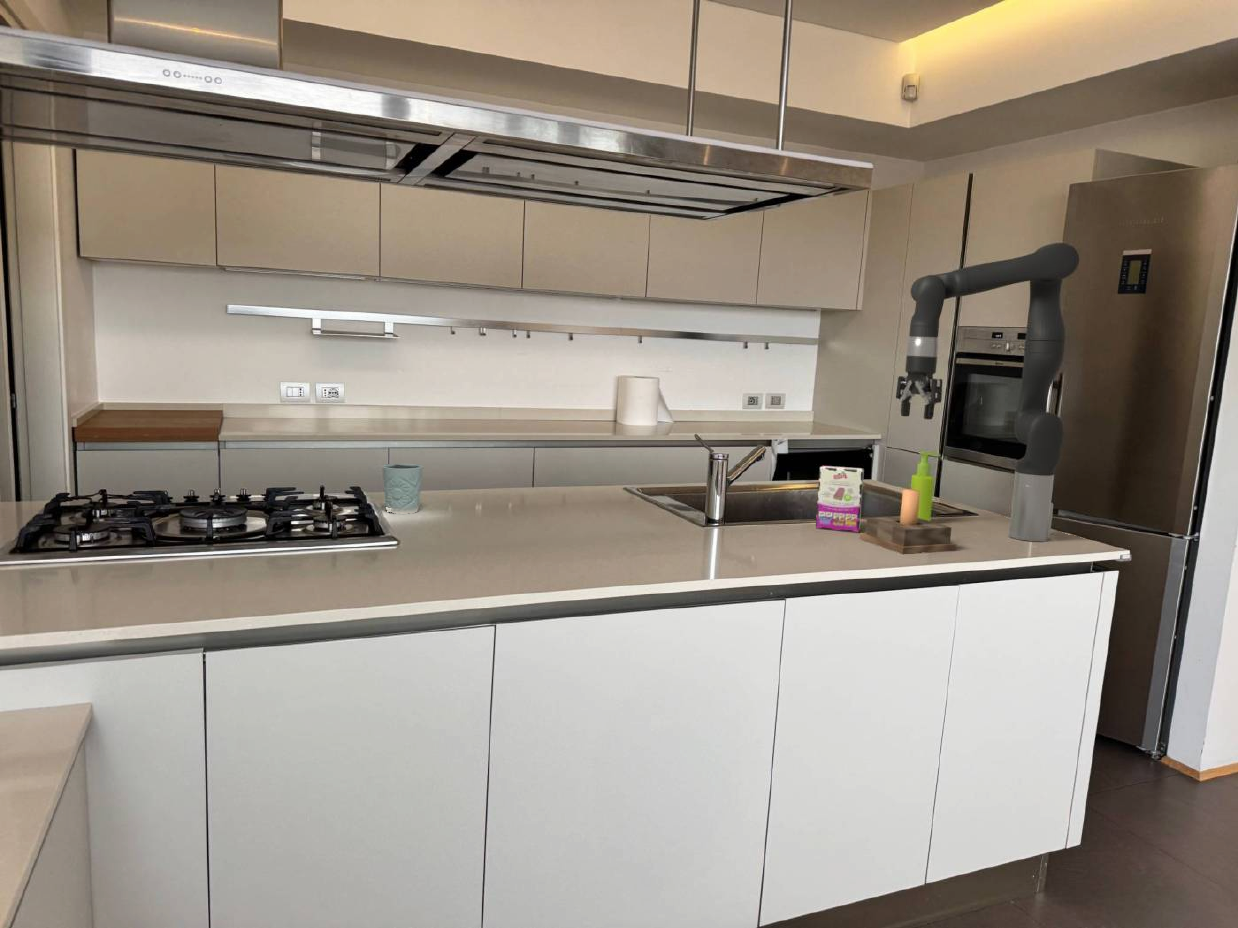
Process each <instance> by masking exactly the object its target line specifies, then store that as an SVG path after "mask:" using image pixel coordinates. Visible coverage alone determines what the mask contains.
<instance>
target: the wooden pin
mask: <svg viewBox="0 0 1238 928" xmlns="http://www.w3.org/2000/svg"><path fill="white" fill-rule="evenodd" d="M919 498H920V491H919V490H913V489H911V488H904V489H902V494H901V508H900V523H901V524H904V525H917V519H918V508H919Z"/></svg>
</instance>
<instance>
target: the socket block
mask: <svg viewBox="0 0 1238 928" xmlns="http://www.w3.org/2000/svg"><path fill="white" fill-rule="evenodd" d="M900 516H901V515H900ZM900 516H883V517H882V516H881V517H866V525H865V532H860V533H859V540H861V541H863V542H864V541H865V542H867V543H870V544H873V545H875V544H876V545H875V546H879V547H881V548H885V549H888V550H890V551H892V552H893V551H894V552H895V551H897V552H896V553H898V552H899V554H901V553H902V555H908V554H907V553H911V554H921V553H920V552H925V553H936V552H937V551H940V552H953V551H956V548H957V544H956V543H953V542H951V537H952V536H951V534H952V527H951V526H948V525H944V524H942V523H938V522H934V521H931V520H930V521H927V520H924V519H920V518H918V519H917V525H904V524H901V523H900ZM935 551H936V552H935ZM937 553H938V552H937Z"/></svg>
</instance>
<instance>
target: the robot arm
mask: <svg viewBox="0 0 1238 928" xmlns="http://www.w3.org/2000/svg"><path fill="white" fill-rule="evenodd" d="M1079 255H1080V254H1079V253H1078V250H1077V249H1076V248H1075V247H1074V245H1073V246H1072V245H1071V244H1069V243H1065V242H1054V243H1049V244H1046V245H1043V246H1040V247H1039V248H1037V249H1036V250H1035V251H1034V252H1033V253H1029V254H1026V255H1022V256H1018V257H1015V258H1014V257H1013V258H1009V259H1003V260H999V261H998V260H997V261H990V262H985V263H980V264H975V265H970V266H965V267H961V268H957V269H954V270H952V271H948V272H944V273H938V274H929V275H925V276H921V277H919V278H918V279H916V280H915V281H914V282H913V283H912V285H911V287H910V295H911V298H912V299H913V300H914V301H915V309H914V313H913V315H912V316H911V320H910V324H909V336H908V341H907V349H906V357H905V358H906V359H905V369H904V370H905V371H904V372H906V373H907V376H906V375H902V376H901V375H899V376H898V377H897V384H896V392H895V393H896V394H895V398H896V399H897V400H900V402H901V405H900V415H901V416H902V417H909V416H910V414H911V400H913V399H912V398H914V397H915V396H916V395H920V397H922V398H923V400H924V403H925V404H924V412H923V419H924V420H932V419H933V418H934V413H935V412H934V411H935V405H936V404H938V403H939V404H941V402H942V399H943V398H942V397H943V396H942V395H943V379H942V378H934V377H933V375H935V374H936V373H937V363H938V355H939V354H938V353H939V352H938V351H939V330H940V319H941V315H942V311H943V307H944V303H945V300H948V299H951V298H959V297H967V296H971V295H976V294H980V293H984V292H989V291H992V290H993V291H994V290H997V289H1000V288H1003V287H1007V286H1012V285H1015V284H1019V283H1024V282H1029V304H1028V305H1029V307H1028V314H1027V323H1026V333H1025V339H1024V341H1025V342H1024V348H1023V349H1024V351H1023V352H1024V353H1023V366H1022V375H1021V377H1022V378H1021V386H1020V394H1019V397H1018V398H1019V399H1018V403H1017V409H1016V414H1015V418H1014V425H1013V427H1014V428H1013V429H1014V435H1015V437H1016V439H1017V440H1018V442H1020V443H1022V444H1023V445H1026V450H1025V454H1024V456H1023V457H1021V458H1020V459H1018V460H1017V461H1016V463H1015V470H1014V481H1013V488H1012V489H1013V491H1012V500H1011V506H1010V507H1011V508H1010V516H1009V525H1008V536H1009V537H1010V538H1012V539H1017V540H1020V541H1021V540H1023V541H1027V542H1029V541H1030V542H1046V541H1047V540H1050V539H1051V530H1052V523H1053V522H1052V521H1053V515H1054V514H1053V513H1054V511H1053V510H1054V504H1053V502H1052V498H1053V489H1054V480H1055V472H1056V468H1057V466H1058V464H1059V463H1060V458H1061V453H1062V447H1063V441H1064V435H1065V434H1064V430H1065V428H1064V423H1063V421H1062V419H1061V418H1060V416H1058V415H1057V414H1055V413H1053V412H1048V411H1047V406H1048V405H1047V404H1048V398H1049V397H1048V396H1049V391H1050V387H1051V386H1052V384H1053V382H1054V380H1055V379H1056V376H1057V374H1058V373H1059V371H1060V369H1061V367H1062V364H1063V360H1064V358H1065V357H1064V356H1065V345H1066V326H1065V321H1064V319H1063V314H1062V310H1061V299H1060V298H1061V291H1062V284H1063V279H1066V278H1068V277H1070V276H1071V275H1073V274H1074V272H1075V271H1077V269H1078V266H1079V264H1080V256H1079Z"/></svg>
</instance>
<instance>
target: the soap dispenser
mask: <svg viewBox="0 0 1238 928" xmlns="http://www.w3.org/2000/svg"><path fill="white" fill-rule="evenodd" d="M918 453H919V455H921V458H920V459H921V460H920V462H919V463H917V468H916V470H917V471H916V474H912V475H911V480H910V481H911V482H910V489H913V490H919V491H920V498H919V508H918V518H920V519H924V520H927V521H931V519H932V518H931V517H932V506H933V495H934V494H933V493H934V485H935V477H934V476H931V467H932V465H931V464H930V462H929V456H937V457H940V456H941V453H937V452H934V451H919V452H918Z"/></svg>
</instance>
